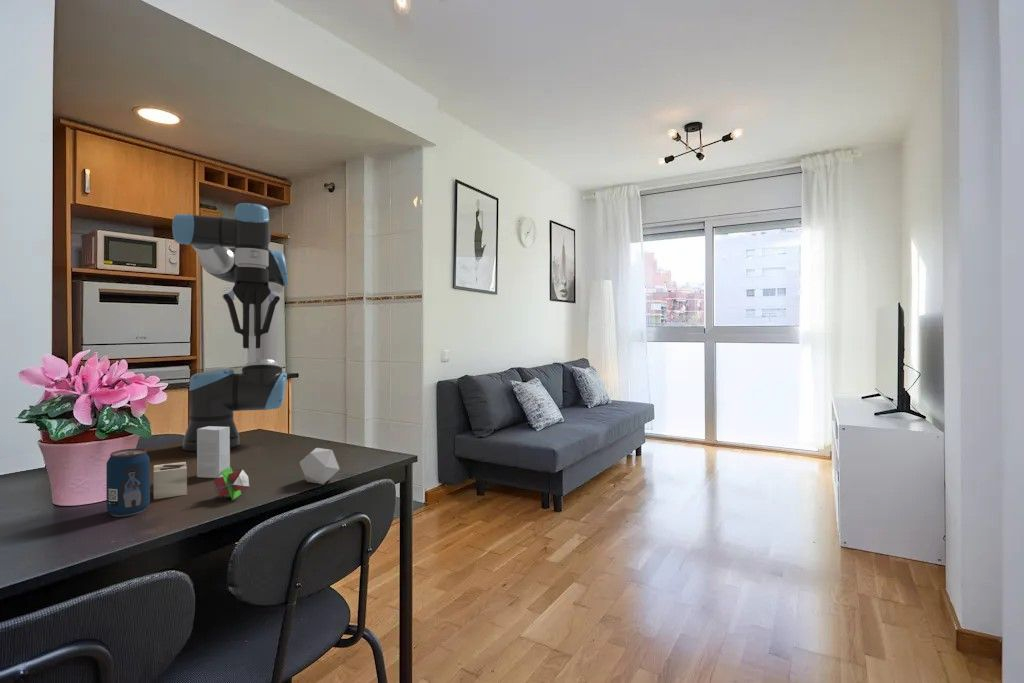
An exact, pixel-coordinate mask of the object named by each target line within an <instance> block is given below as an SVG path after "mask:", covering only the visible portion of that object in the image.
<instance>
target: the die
mask: <svg viewBox="0 0 1024 683" xmlns="http://www.w3.org/2000/svg"><path fill="white" fill-rule="evenodd" d="M298 463H299V466H300V467H301V470H302V472H303V474H304V478H305V481H306V482H308V483H313V484H317V483H318V484H317V485H325V484H326V483H327V481H329V480H330V479H331V478H332V477H333V476H334V475H335V474H336V473H338V471H339V470H340V469H341V468H340V466H339V463H338V461H337V459H336V456H335V453H334V450H332V449H327V448H321V447H316V448H314V449H313V450H311V452H309V453H308V454H307V455H306V456H305V457H303V459H301V460H300V461H299V462H298Z"/></svg>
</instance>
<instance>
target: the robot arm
mask: <svg viewBox="0 0 1024 683" xmlns="http://www.w3.org/2000/svg"><path fill="white" fill-rule="evenodd" d="M234 211H235V212H234V217H233V218H231V217H229V218H228V217H219V216H208V215H200V214H199V215H198V214H192V213H188V214H187V213H185V214H184V213H183V214H182V213H180V214H179V213H178V214H175V215H174V216H173V219H172V223H171V229H172V236H173V240H174V242H175V243H177V244H180V245H186V246H189V245H191V247H192V248H193V249H194V251H195V253H196V254H197V256H198V257H199V263H200V266H201V267H202V268H203V269H204V271H205V272H207V274H210V275H211V276H213V277H214V278H217V279H218V280H219V279H220V280H222V281H225V282H227V283H233V284H234V285H233V287H232V290H231V291H229V292H227V293H224V294H222V299H223V300H224V301H225V303H226V304H227V307H228V312H229V315H230V319H231V323H232V326H233V330H234V333H236V334H240V335H241V336H242V348H243V349H247V363H246V364H244V365H243V366H242V368H241V373H240V372H239V373H235V371H234V369H232V368H226V369H225V368H223V369H214V370H209V371H208V370H207V371H202V372H197V373H194V374H193V375H191V377H190V378H189V389H188V391H189V423H188V426H187V428H186V431H185V435H183V440H182V450H184V451H187V452H197V429H199V428H203V427H207V426H218V427H230V449H231V448H235V447H237V446H239V445H240V442H241V441H240V440H241V439H240V438H241V437H240V434H239V431H238V428H237V425H236V423H235V421H234V420H235V418H234V412H243V411H269V410H277V409H280V408H281V407H282V406H283V404H284V399H285V394H286V388H287V387H286V386H287V379H288V374H287V372H284V371H283V367H282V366H281V365H280V364H279V363H278V339H279V338H278V336H279V334H278V331H279V301H280V300H281V298H280V296H279V294H281V293H282V292H284V287H286V286H288V285H289V283H288V281H289V279H288V278H289V277H288V270H287V264H286V257H285V254H284V253H283V252H282V251H280V250H272V249H269V244H270V243H271V240H272V233H271V230H270V214H269V209H268V207H266V206H264V205H262V204H259V203H251V202H250V203H249V202H240V203H238V204H237V205H235V210H234ZM235 297H236V298H237V299H238V301H239V302H240V303H241V304H242V327H241V325H240V321H239V318H238V313H237V311H236V306H235V303H234V300H235Z"/></svg>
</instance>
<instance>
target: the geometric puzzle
mask: <svg viewBox="0 0 1024 683" xmlns="http://www.w3.org/2000/svg"><path fill="white" fill-rule="evenodd" d="M233 468H234V470H235V471H234V470H233ZM236 470H237V471H236ZM221 473H222V476H223V477H220V475H221ZM221 473H219V474H220V475H219V474H218V475H219V477H220V478H212V479H213V483H214V485H215V488H216V490H213V492H214V493H216V492H217V493H218V495H219V497H220V498H223V499H224V498H226V496H229V497H230V498H231V499H230V498H228V499H229V501H234V500H235V499H236V498H238V497H240V496H241V495H243V493H244V491H246V490H247V489H248V488H249V487H251V486H250V480H249V474H247V473H246V471H245V470H244V469H243V468H239V467H238V469H237V468H236V467H234V466H231V465H230V467H229V468H227V469H225V470H223V471H221ZM241 490H242V491H241Z"/></svg>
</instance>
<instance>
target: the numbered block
mask: <svg viewBox="0 0 1024 683" xmlns="http://www.w3.org/2000/svg"><path fill="white" fill-rule="evenodd" d="M186 495H188V468H187V462H186V461H181V462H173V463H163V464H155V465H153V500H160V499H165V498H172V497H173V498H174V497H179V496H180V497H181V496H186Z"/></svg>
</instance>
